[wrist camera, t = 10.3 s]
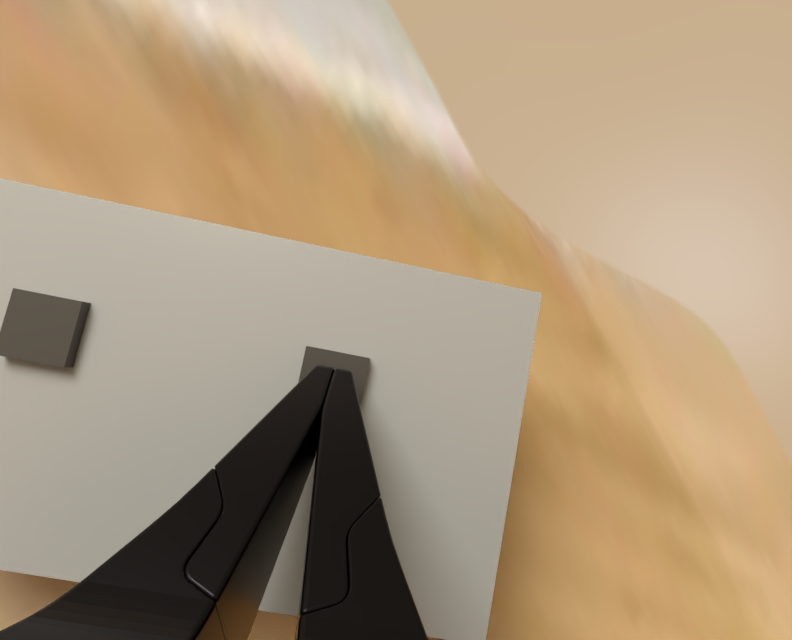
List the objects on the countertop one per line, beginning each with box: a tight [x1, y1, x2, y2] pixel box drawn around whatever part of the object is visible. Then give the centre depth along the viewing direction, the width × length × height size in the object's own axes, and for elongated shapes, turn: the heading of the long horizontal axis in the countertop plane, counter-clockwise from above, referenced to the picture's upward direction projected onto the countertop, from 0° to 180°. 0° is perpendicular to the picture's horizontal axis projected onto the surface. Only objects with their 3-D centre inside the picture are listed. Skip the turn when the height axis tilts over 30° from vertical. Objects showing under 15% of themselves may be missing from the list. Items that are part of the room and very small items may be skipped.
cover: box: [0, 178, 542, 640], centre depth 10 cm, size 9×18×1 cm, turn 79°
